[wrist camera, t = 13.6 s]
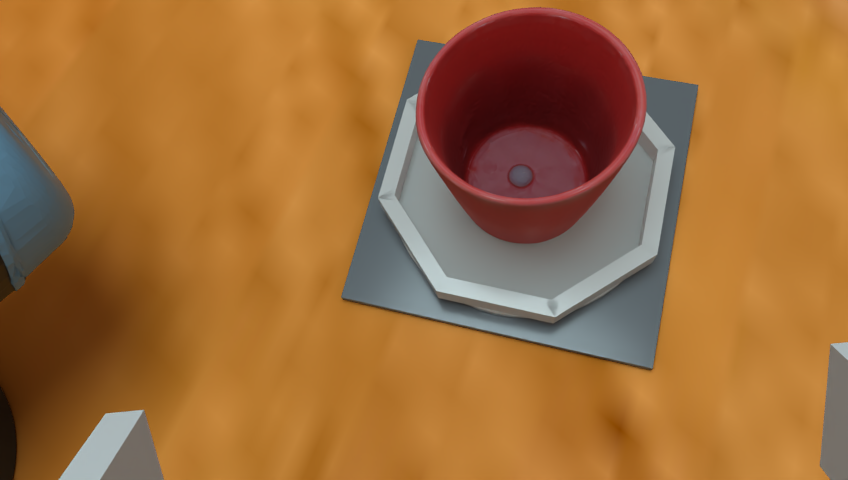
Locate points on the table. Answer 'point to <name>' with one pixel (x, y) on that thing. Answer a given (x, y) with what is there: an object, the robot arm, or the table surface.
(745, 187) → the table surface
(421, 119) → the flower pot
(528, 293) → the grey octagonal tray
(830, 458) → the robot arm
